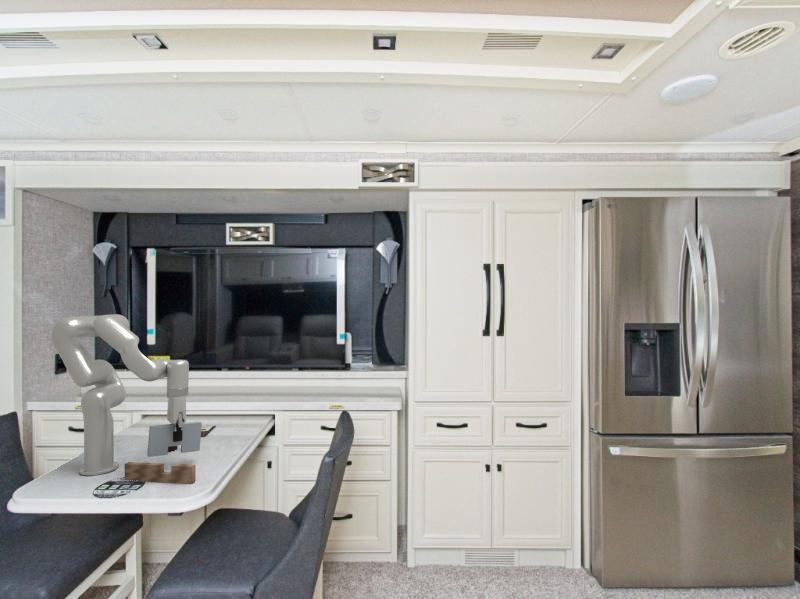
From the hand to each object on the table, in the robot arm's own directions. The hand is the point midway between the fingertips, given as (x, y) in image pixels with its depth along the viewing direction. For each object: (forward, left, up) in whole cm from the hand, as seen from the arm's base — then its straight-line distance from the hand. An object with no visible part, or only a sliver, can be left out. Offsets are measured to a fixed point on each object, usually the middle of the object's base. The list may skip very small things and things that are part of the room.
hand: (176, 440), depth 178 cm
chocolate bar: (-48, +21, -12) cm, 54 cm away
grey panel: (0, -1, -5) cm, 5 cm away
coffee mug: (-26, +3, -11) cm, 28 cm away
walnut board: (+9, -8, -11) cm, 16 cm away
